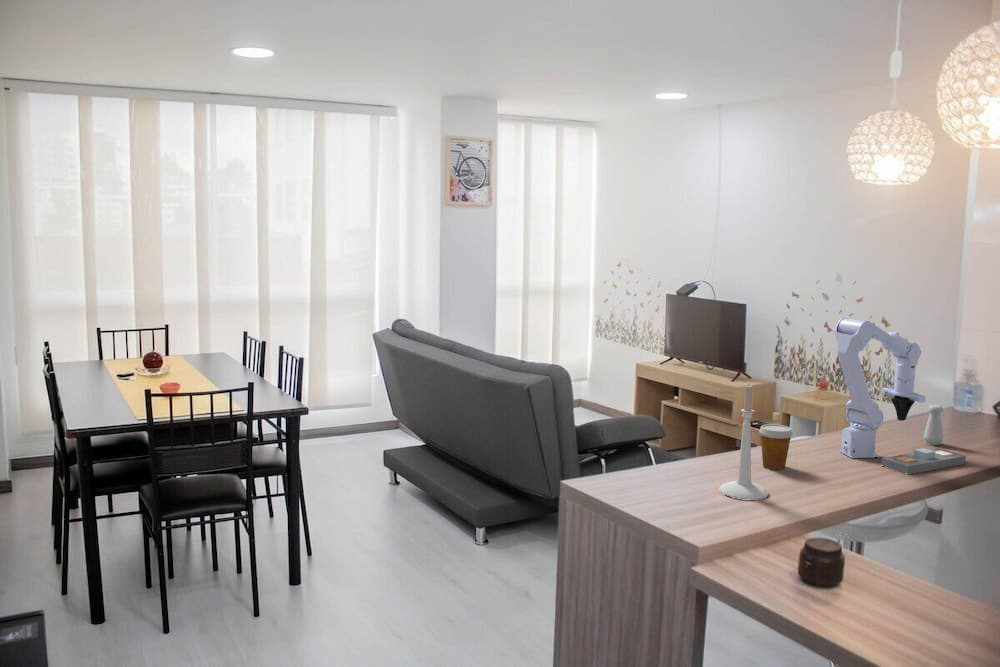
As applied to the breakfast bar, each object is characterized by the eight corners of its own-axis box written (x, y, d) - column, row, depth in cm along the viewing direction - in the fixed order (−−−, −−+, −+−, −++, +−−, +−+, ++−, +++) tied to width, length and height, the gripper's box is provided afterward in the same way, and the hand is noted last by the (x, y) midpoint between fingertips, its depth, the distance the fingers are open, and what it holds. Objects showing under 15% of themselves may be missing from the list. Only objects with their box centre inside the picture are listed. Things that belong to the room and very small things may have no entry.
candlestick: (778, 495, 223) (784, 386, 219) (744, 503, 217) (749, 391, 213) (743, 482, 234) (748, 377, 230) (709, 489, 228) (713, 382, 224)
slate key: (925, 460, 248) (926, 453, 248) (913, 457, 252) (914, 449, 251) (934, 459, 250) (935, 451, 250) (922, 455, 253) (923, 448, 253)
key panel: (907, 474, 242) (908, 466, 241) (881, 466, 250) (882, 458, 250) (965, 464, 252) (965, 456, 252) (938, 456, 260) (939, 448, 260)
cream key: (943, 462, 252) (943, 455, 251) (931, 459, 255) (932, 451, 255) (952, 461, 253) (952, 453, 253) (940, 457, 257) (940, 450, 257)
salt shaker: (946, 446, 271) (949, 407, 270) (928, 446, 272) (931, 407, 270) (937, 441, 277) (940, 403, 275) (919, 441, 277) (922, 403, 275)
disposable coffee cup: (779, 473, 242) (781, 433, 241) (750, 465, 250) (752, 427, 248) (797, 467, 248) (799, 428, 247) (768, 460, 256) (770, 422, 254)
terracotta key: (906, 469, 245) (906, 461, 245) (894, 465, 249) (895, 458, 248) (915, 467, 247) (916, 459, 246) (904, 464, 250) (904, 456, 250)
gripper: (933, 381, 261) (930, 423, 263) (894, 373, 274) (891, 413, 276) (917, 383, 258) (914, 426, 260) (878, 375, 271) (876, 415, 273)
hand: (901, 420), depth 268 cm, fingers closed
